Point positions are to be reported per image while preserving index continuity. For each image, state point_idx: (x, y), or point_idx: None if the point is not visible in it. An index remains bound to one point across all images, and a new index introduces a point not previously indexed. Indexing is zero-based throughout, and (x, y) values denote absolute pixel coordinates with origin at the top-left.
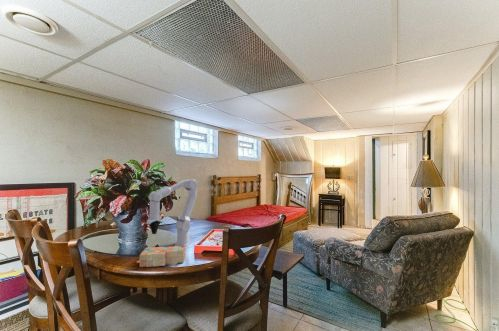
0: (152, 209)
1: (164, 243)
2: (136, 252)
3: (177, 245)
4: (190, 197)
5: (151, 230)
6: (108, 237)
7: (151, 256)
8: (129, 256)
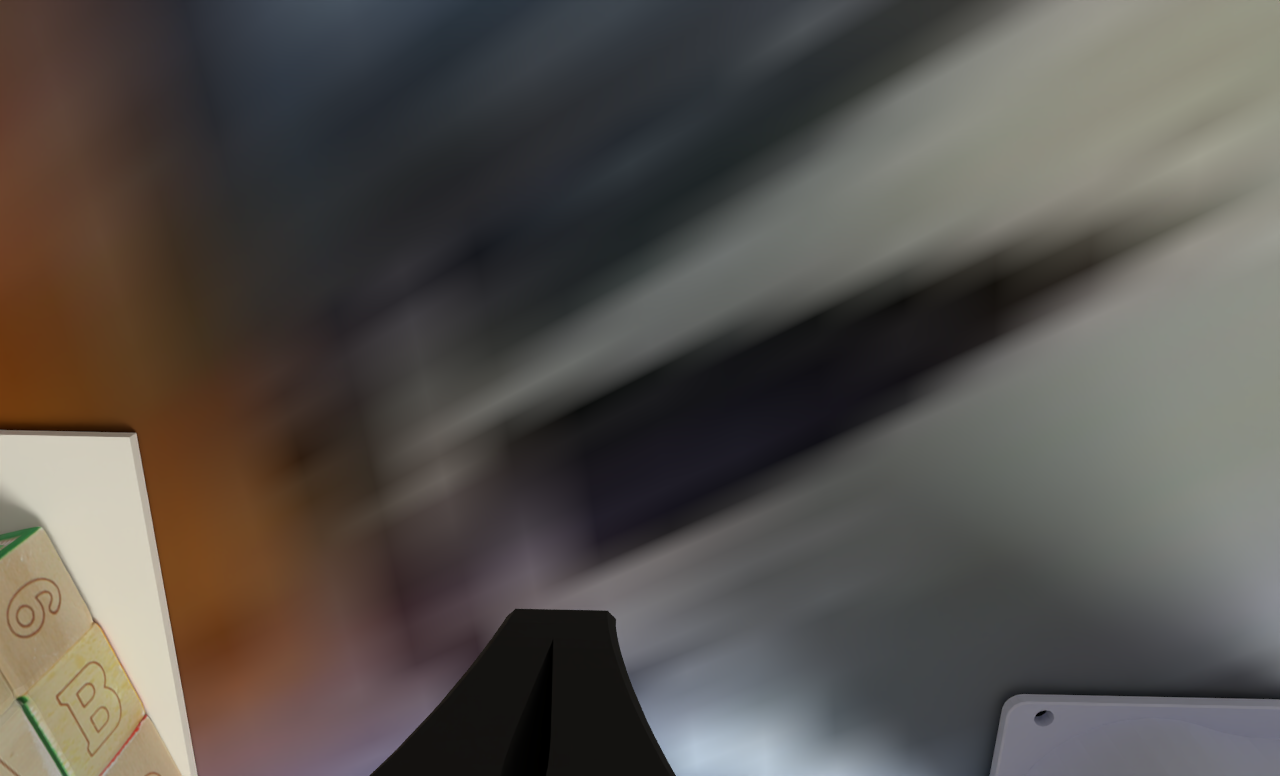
0: None
1: (1251, 374)
2: (412, 7)
3: (993, 766)
4: None
5: (442, 704)
6: None
7: None
8: (86, 10)
